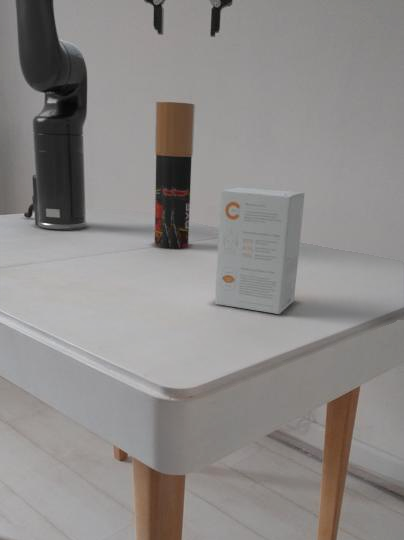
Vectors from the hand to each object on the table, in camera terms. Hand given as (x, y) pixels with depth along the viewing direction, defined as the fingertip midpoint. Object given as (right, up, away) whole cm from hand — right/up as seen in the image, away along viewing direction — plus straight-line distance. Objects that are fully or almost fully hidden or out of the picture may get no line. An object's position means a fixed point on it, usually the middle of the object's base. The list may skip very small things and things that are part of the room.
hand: (186, 35), depth 91 cm
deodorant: (-3, -32, +9) cm, 34 cm away
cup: (-2, -18, +3) cm, 19 cm away
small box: (+9, -46, -23) cm, 52 cm away
